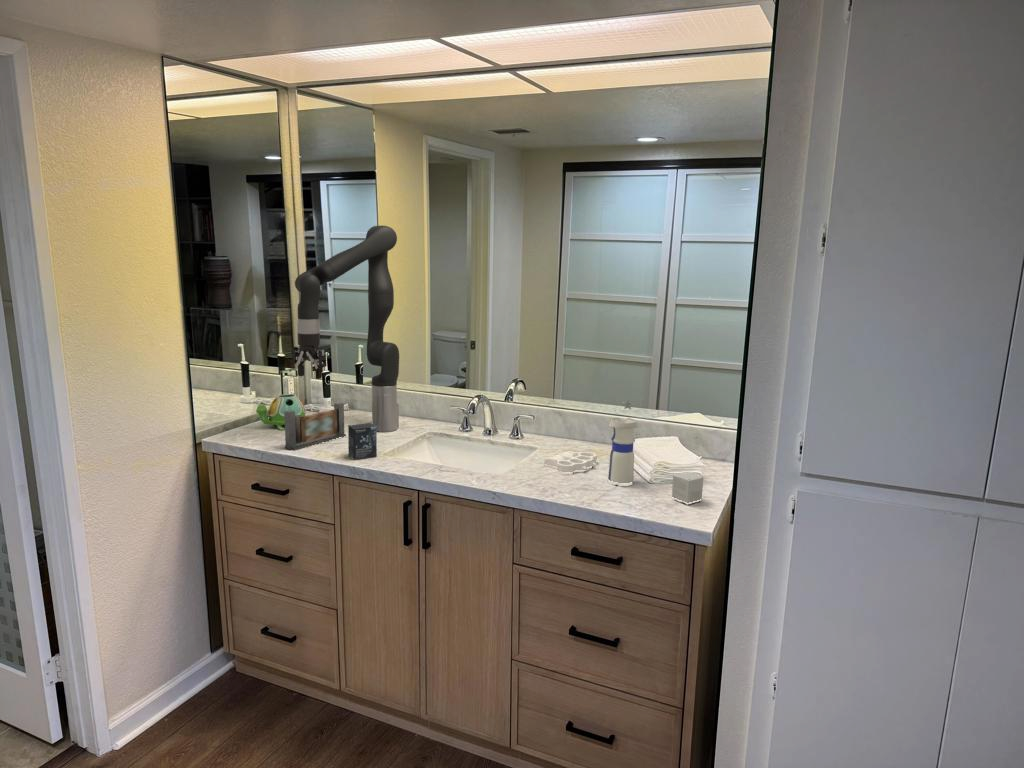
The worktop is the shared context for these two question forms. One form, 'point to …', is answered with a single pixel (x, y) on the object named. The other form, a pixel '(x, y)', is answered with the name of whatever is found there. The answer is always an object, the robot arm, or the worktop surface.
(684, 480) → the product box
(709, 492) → the worktop surface
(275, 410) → the turtle holder
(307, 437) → the gate
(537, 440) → the worktop surface
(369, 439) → the box
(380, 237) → the robot arm
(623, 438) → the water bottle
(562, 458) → the knuckle duster
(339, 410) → the gate frame
